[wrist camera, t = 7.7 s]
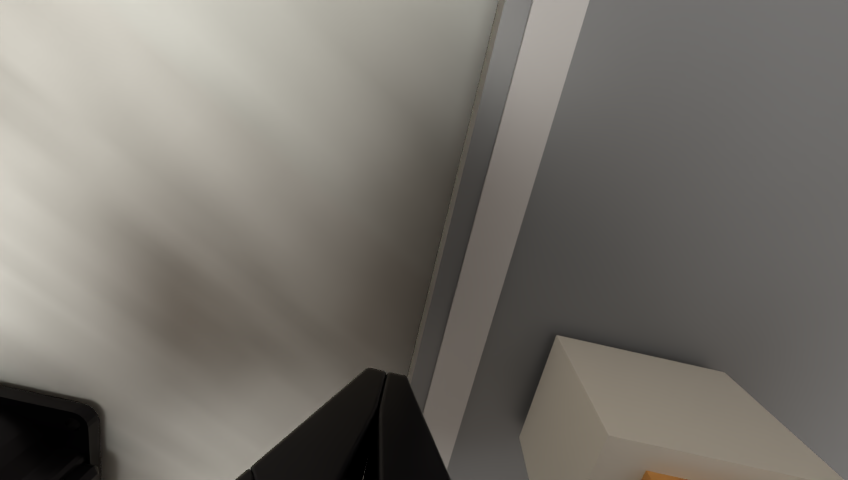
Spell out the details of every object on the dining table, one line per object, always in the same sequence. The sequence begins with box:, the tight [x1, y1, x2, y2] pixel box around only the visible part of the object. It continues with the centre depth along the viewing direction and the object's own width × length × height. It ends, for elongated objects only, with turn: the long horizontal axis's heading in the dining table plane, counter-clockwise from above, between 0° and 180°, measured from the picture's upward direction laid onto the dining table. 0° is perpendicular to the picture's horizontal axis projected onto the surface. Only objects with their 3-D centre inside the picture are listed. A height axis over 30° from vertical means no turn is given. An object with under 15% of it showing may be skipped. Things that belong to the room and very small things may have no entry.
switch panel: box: [407, 0, 848, 480], centre depth 9 cm, size 18×22×5 cm
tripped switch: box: [519, 335, 844, 480], centre depth 8 cm, size 4×3×3 cm
